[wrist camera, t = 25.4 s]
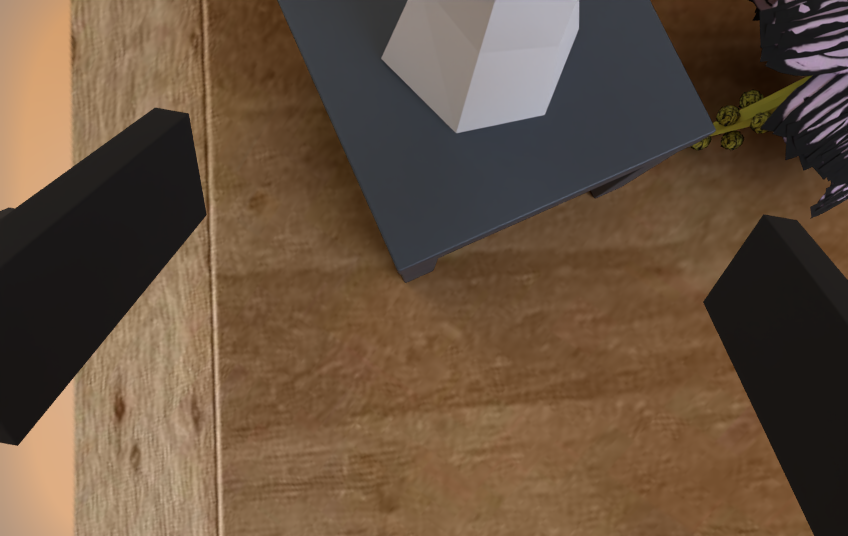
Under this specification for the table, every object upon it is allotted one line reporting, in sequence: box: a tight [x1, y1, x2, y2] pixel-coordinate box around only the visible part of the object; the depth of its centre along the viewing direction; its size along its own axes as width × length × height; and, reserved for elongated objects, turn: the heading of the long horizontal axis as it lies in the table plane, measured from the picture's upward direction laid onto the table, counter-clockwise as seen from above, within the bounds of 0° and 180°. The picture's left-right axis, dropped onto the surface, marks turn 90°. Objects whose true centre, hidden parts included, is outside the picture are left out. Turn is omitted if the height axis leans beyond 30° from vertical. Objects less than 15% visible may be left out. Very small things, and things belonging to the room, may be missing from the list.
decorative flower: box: [690, 0, 848, 219], centre depth 25 cm, size 14×12×15 cm
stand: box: [277, 0, 716, 283], centre depth 25 cm, size 14×14×9 cm
